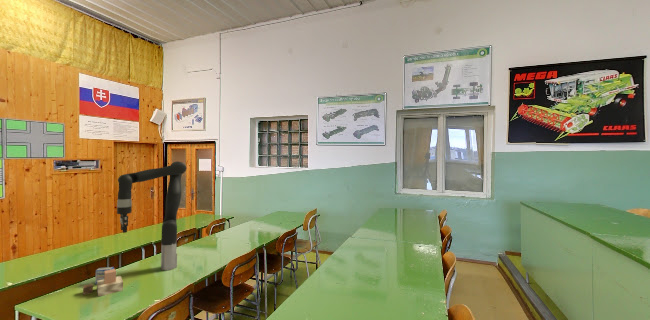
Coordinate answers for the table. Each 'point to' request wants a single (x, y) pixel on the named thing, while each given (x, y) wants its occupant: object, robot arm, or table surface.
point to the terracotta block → (109, 276)
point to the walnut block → (87, 289)
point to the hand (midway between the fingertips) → (123, 231)
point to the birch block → (109, 286)
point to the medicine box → (101, 273)
